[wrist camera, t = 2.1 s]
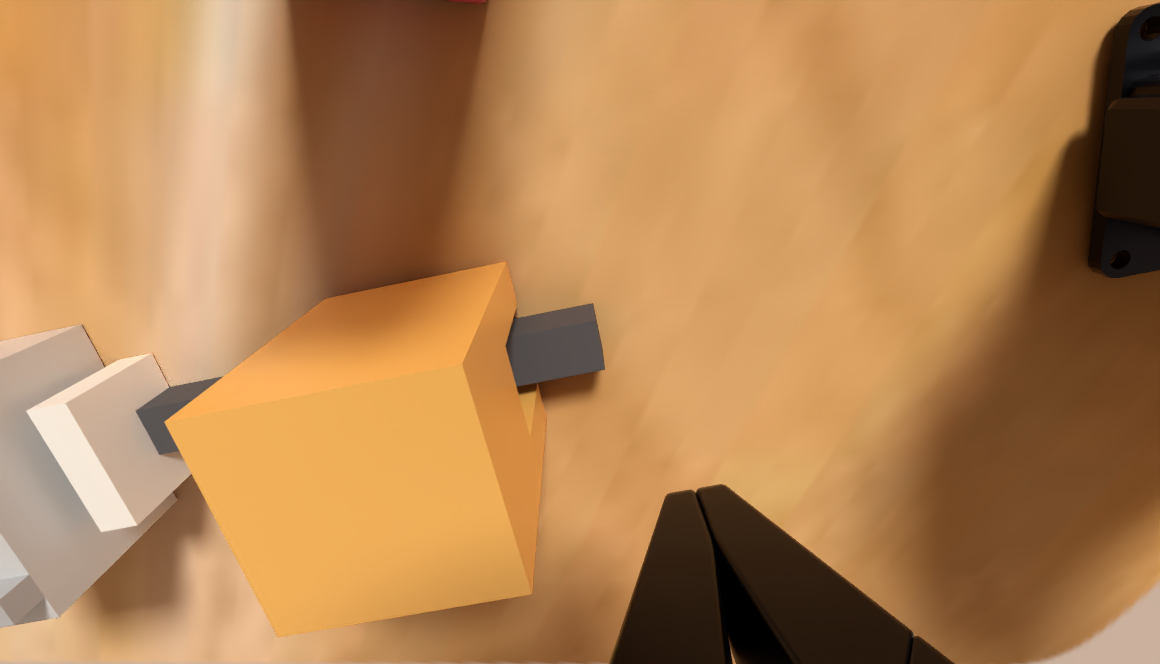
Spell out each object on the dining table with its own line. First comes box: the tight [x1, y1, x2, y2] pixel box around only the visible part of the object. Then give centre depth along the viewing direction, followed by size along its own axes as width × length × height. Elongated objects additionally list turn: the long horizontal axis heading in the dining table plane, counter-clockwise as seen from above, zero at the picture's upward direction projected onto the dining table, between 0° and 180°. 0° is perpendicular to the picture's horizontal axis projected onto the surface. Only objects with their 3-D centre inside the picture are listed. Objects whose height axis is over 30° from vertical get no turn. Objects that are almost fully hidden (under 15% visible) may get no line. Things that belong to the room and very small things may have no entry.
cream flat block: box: [26, 353, 191, 532], centre depth 16 cm, size 1×4×3 cm, turn 11°
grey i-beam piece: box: [0, 324, 177, 628], centre depth 15 cm, size 3×6×5 cm, turn 11°
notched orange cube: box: [164, 262, 547, 637], centre depth 13 cm, size 5×5×7 cm
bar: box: [136, 303, 605, 455], centre depth 16 cm, size 17×1×1 cm, turn 102°
